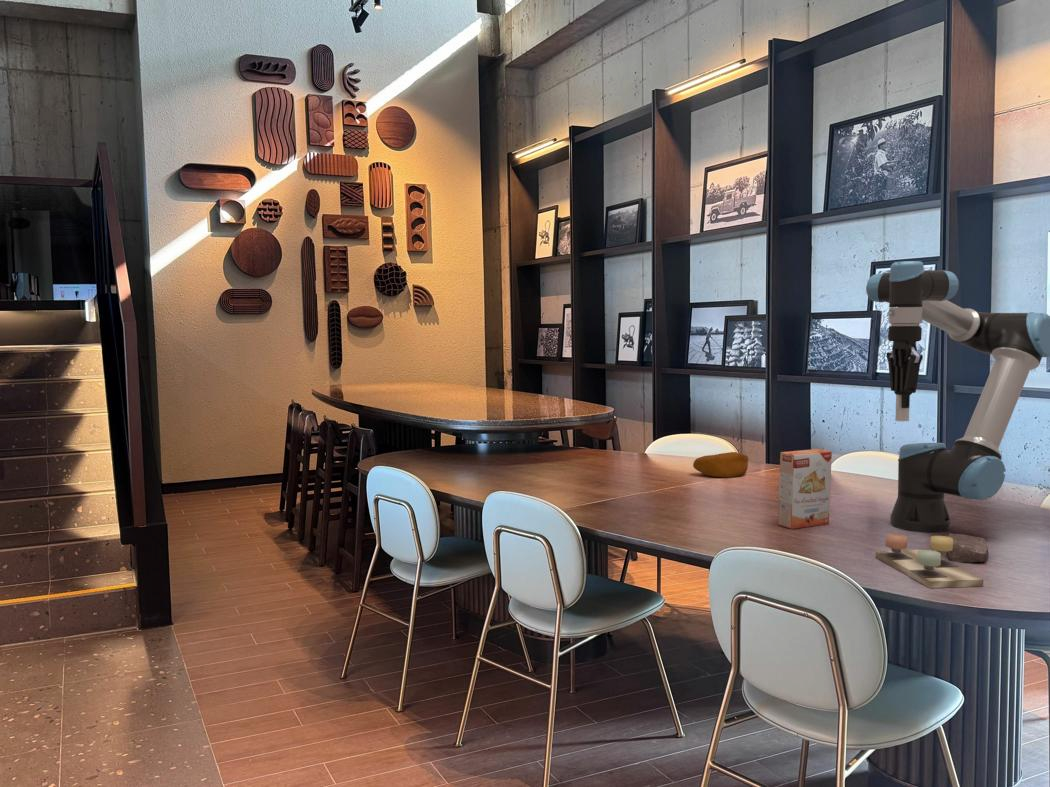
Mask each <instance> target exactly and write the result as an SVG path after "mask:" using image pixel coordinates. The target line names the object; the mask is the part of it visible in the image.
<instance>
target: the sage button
mask: <svg viewBox="0 0 1050 787" xmlns="http://www.w3.org/2000/svg"><path fill="white" fill-rule="evenodd" d="M918 550H919V551H918V563H919V564H921V565H924V569H926V570H934V566H940V565H941V559H942V558H941V557H942V555H941V553H939V552H937V550H933V549H932V550H931V549H923V550H922V549H918Z"/></svg>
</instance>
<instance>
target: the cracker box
mask: <svg viewBox="0 0 1050 787" xmlns="http://www.w3.org/2000/svg"><path fill="white" fill-rule="evenodd" d="M832 456H833V454H832V451H830V450H827V449H820V448H813V449H803V450H793V451H792V450H790V451H781V452H780V454H779V457H780V458H779V482H778V483H779V485H778V486H779V487H778V488H779V489H778V490H779V491H778V518H777V519H778V520H777V521H778V522H777V524H778V526H781V527H784V528H788V529H790V530H795V529H801V528H802V529H803V528H809V527H815V526H823V525H829V524H830V509H831V508H830V504H831V503H830V502H831V479H832V477H831V476H832Z"/></svg>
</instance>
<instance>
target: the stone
mask: <svg viewBox="0 0 1050 787" xmlns="http://www.w3.org/2000/svg"><path fill="white" fill-rule="evenodd" d="M947 537H950V538H952V539H953V550H952V551H946V553H947V556H948V558H949V561H950V562H953V563H954V562H955V563H956V562H957V563H959V562H960V563H977V562H978V563H982V562H987V561H988V558H989V545H988V543H987V540H986V539H985V538H984V537H977V536H972V535H967V534H961V533H960V534H958V533H956V534H955V533H949V534H948V536H947Z"/></svg>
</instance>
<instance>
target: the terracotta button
mask: <svg viewBox="0 0 1050 787" xmlns="http://www.w3.org/2000/svg"><path fill="white" fill-rule="evenodd" d="M885 540H886V541H885V547H887V548H889V549H891V551H892V552H896V553H900V552H901V550H907V548H908V536H907V535H904V534H898V533H896V534H894V533H891V534H886V536H885Z"/></svg>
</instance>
